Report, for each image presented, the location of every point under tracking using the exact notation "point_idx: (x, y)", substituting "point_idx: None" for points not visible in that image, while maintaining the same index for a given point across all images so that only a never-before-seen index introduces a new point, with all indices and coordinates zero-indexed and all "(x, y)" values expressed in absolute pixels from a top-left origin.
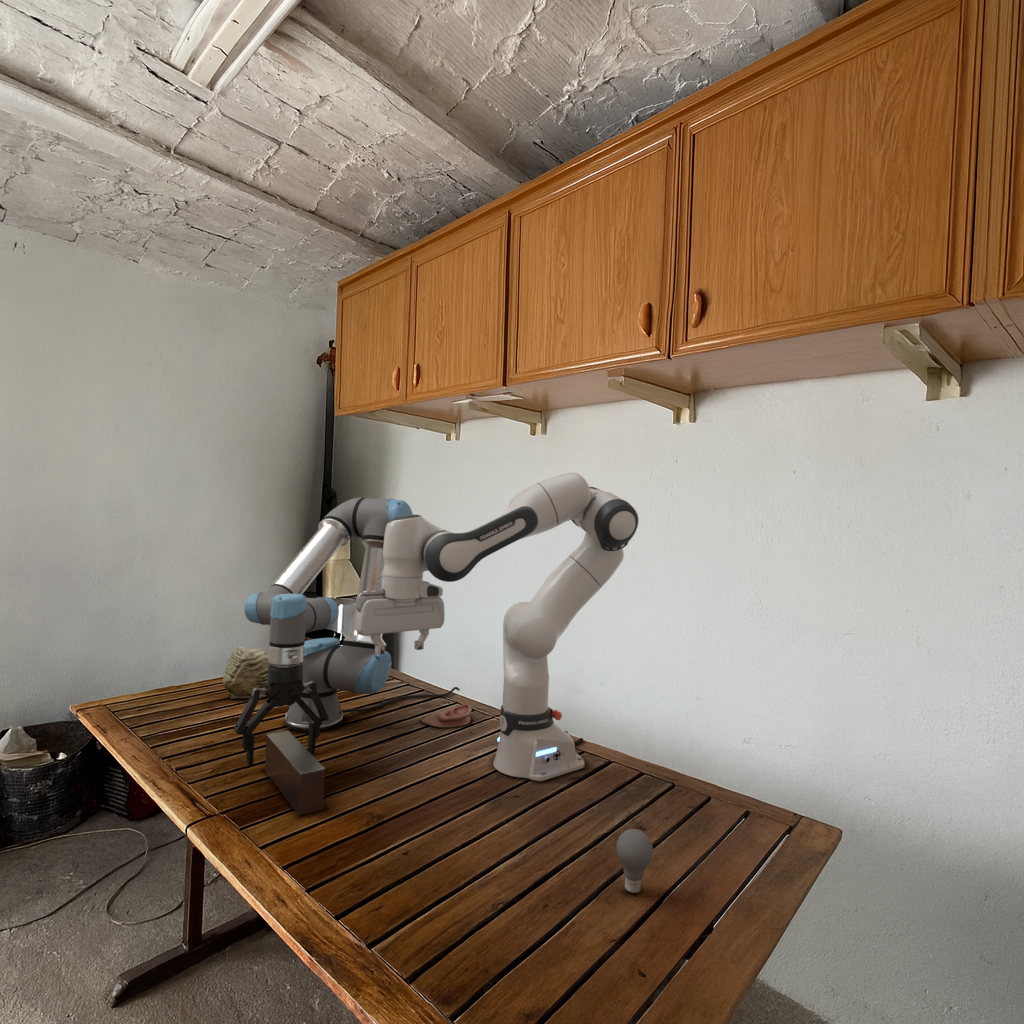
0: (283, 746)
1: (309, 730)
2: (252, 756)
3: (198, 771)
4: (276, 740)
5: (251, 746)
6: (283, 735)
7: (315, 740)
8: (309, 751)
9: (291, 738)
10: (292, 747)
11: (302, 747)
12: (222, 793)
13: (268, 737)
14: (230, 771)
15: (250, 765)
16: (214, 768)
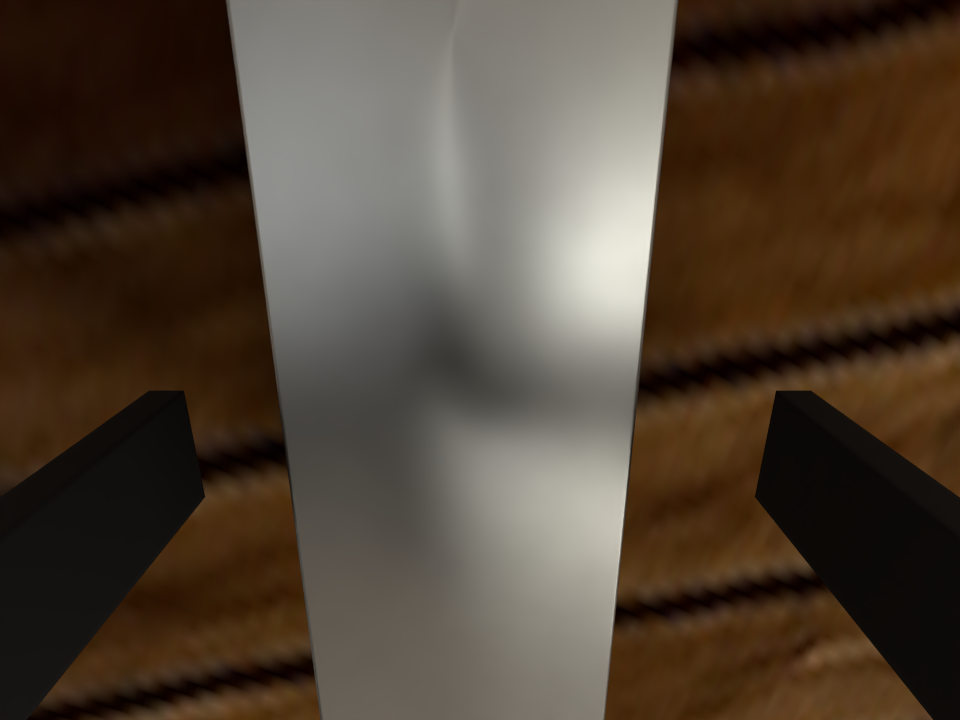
0: (555, 309)
1: (49, 654)
2: (841, 433)
3: (872, 670)
4: (562, 571)
5: (957, 504)
6: (426, 678)
7: (45, 465)
8: (191, 457)
9: (354, 549)
10: (437, 190)
11: (273, 89)
12: (909, 312)
13: (603, 705)
14: (726, 596)
15: (803, 391)
16: (784, 669)
